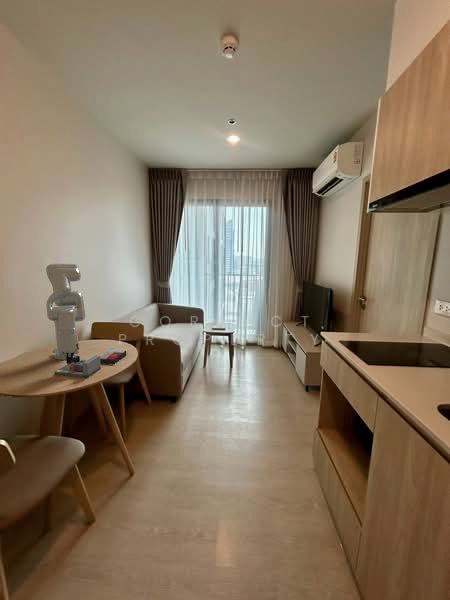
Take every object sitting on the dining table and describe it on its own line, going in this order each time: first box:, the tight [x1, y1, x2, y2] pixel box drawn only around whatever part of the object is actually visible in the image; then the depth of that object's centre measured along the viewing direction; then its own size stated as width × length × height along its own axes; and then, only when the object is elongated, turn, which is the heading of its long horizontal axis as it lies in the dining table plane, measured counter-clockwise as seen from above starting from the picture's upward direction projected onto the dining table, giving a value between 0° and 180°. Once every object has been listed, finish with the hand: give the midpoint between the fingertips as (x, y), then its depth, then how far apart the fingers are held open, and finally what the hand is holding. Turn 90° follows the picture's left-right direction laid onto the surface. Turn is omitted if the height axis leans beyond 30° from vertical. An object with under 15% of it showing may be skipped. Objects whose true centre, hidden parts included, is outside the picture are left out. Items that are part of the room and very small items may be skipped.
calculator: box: [99, 349, 127, 365], centre depth 164 cm, size 11×4×15 cm
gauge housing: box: [54, 355, 102, 378], centre depth 145 cm, size 20×11×8 cm, turn 82°
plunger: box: [69, 355, 83, 370], centre depth 143 cm, size 8×8×6 cm
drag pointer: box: [71, 363, 75, 372], centre depth 140 cm, size 1×2×5 cm, turn 172°
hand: (69, 362), depth 145 cm, fingers closed
